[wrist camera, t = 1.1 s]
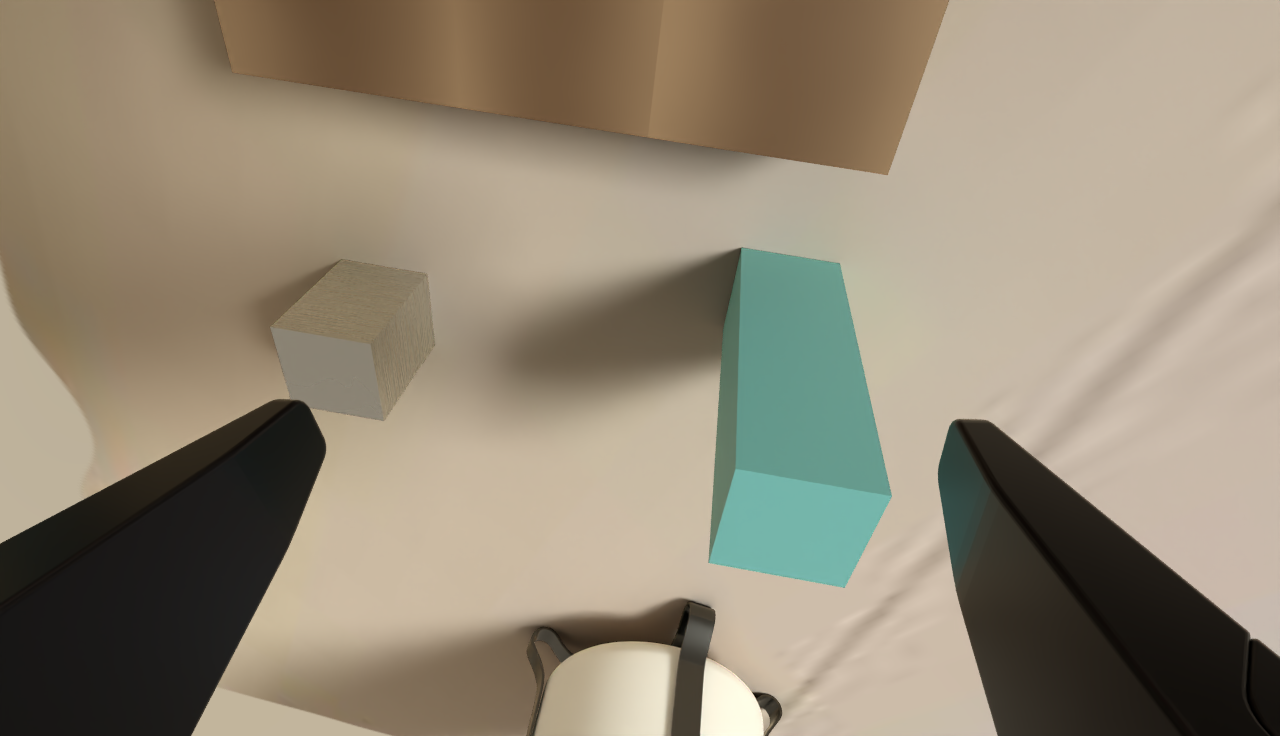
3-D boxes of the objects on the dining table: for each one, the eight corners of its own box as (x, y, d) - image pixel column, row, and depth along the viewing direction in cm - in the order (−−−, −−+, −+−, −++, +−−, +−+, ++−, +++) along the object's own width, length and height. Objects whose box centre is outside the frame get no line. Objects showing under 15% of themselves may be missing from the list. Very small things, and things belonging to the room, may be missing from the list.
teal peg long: (839, 263, 21) (891, 496, 13) (813, 343, 23) (844, 587, 15) (741, 247, 21) (735, 469, 13) (723, 328, 23) (708, 563, 15)
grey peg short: (428, 273, 24) (370, 344, 20) (435, 344, 26) (383, 420, 22) (342, 259, 24) (270, 327, 20) (355, 331, 26) (292, 404, 22)
